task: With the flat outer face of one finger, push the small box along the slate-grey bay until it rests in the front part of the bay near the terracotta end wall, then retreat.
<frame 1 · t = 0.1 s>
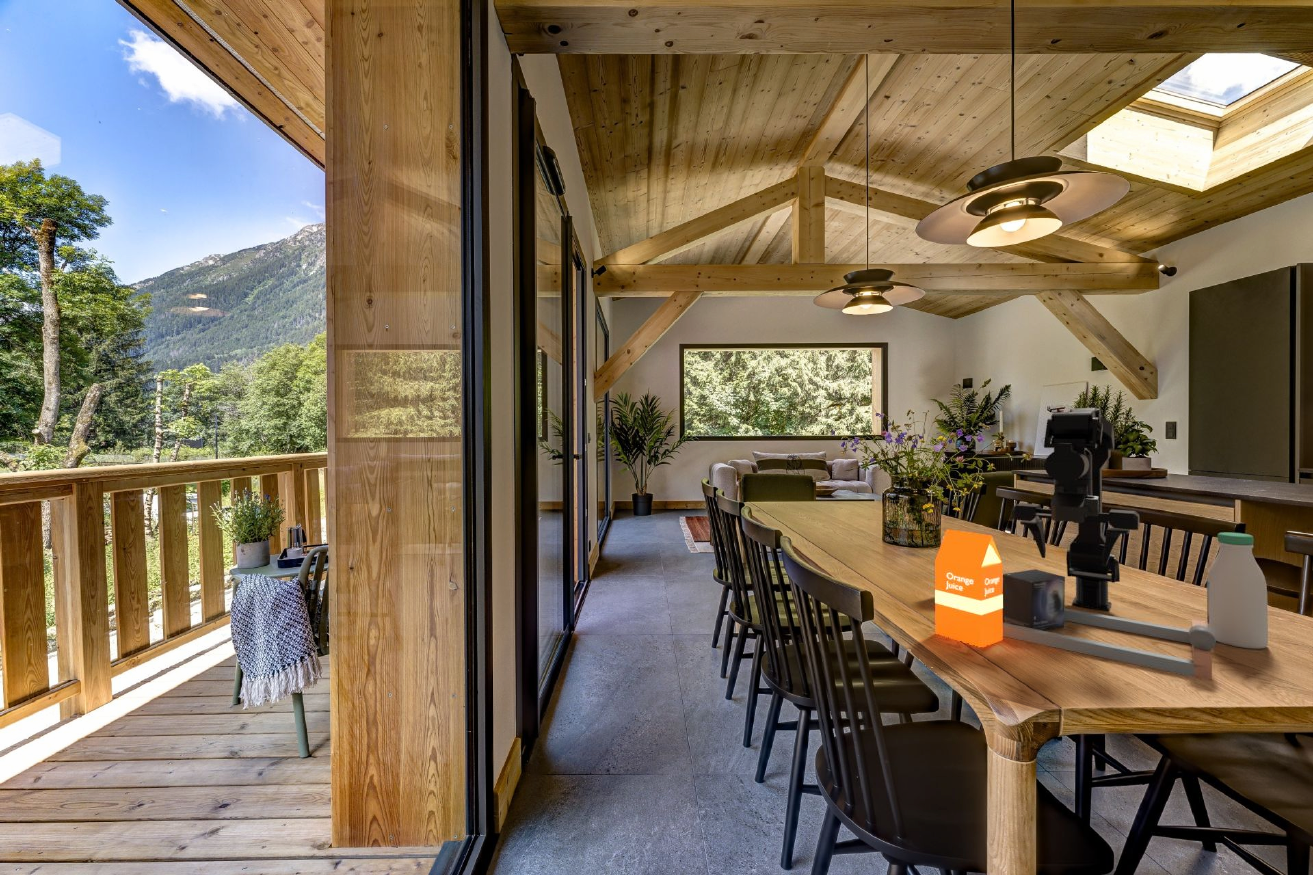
hand: (1073, 561, 104), 15 cm above the table, tool pointing down, fingers open, 9 cm apart
paper cup: (959, 596, 132), on the table
orange juice: (968, 637, 106), on the table
milk bottle: (1237, 642, 102), on the table
small box: (1033, 627, 111), on the table
bay: (1096, 638, 104), on the table
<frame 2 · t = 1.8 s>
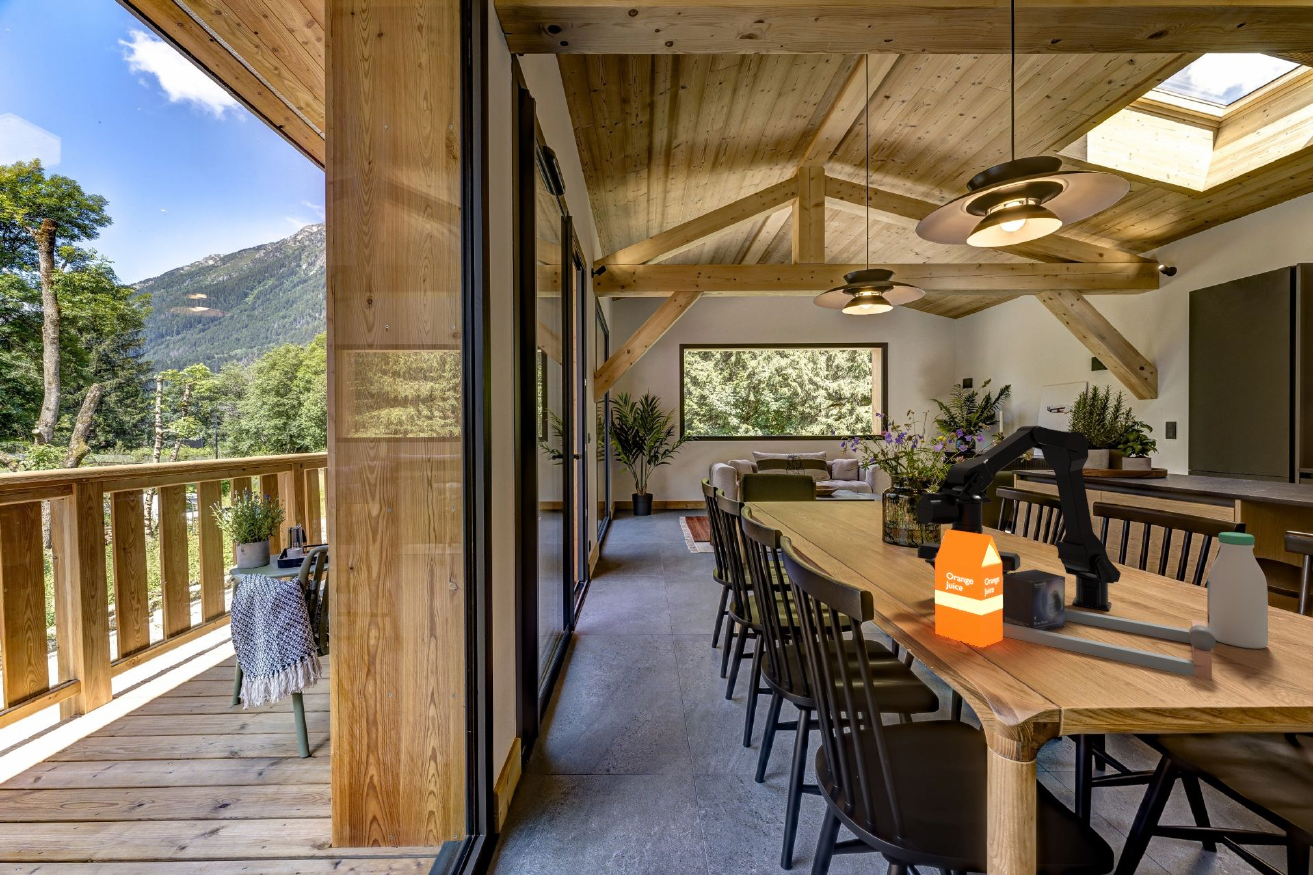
hand: (967, 595, 119), 4 cm above the table, tool pointing down, fingers open, 8 cm apart
small box: (1033, 627, 111), on the table, touching gripper
everything else where it was.
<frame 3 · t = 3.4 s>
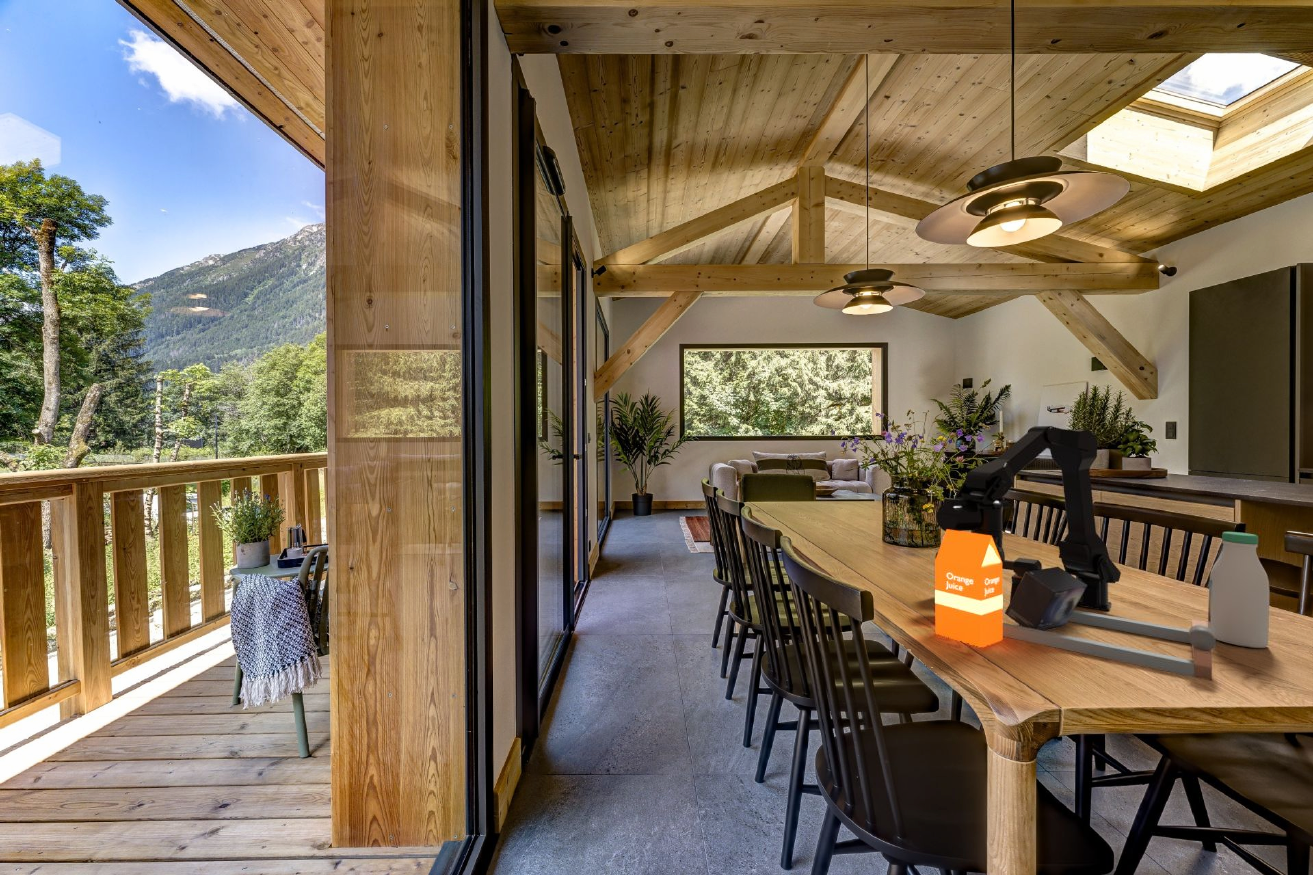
hand: (986, 602, 117), 3 cm above the table, tool pointing down, fingers open, 9 cm apart
small box: (1034, 621, 111), point 1 cm above the table, touching gripper
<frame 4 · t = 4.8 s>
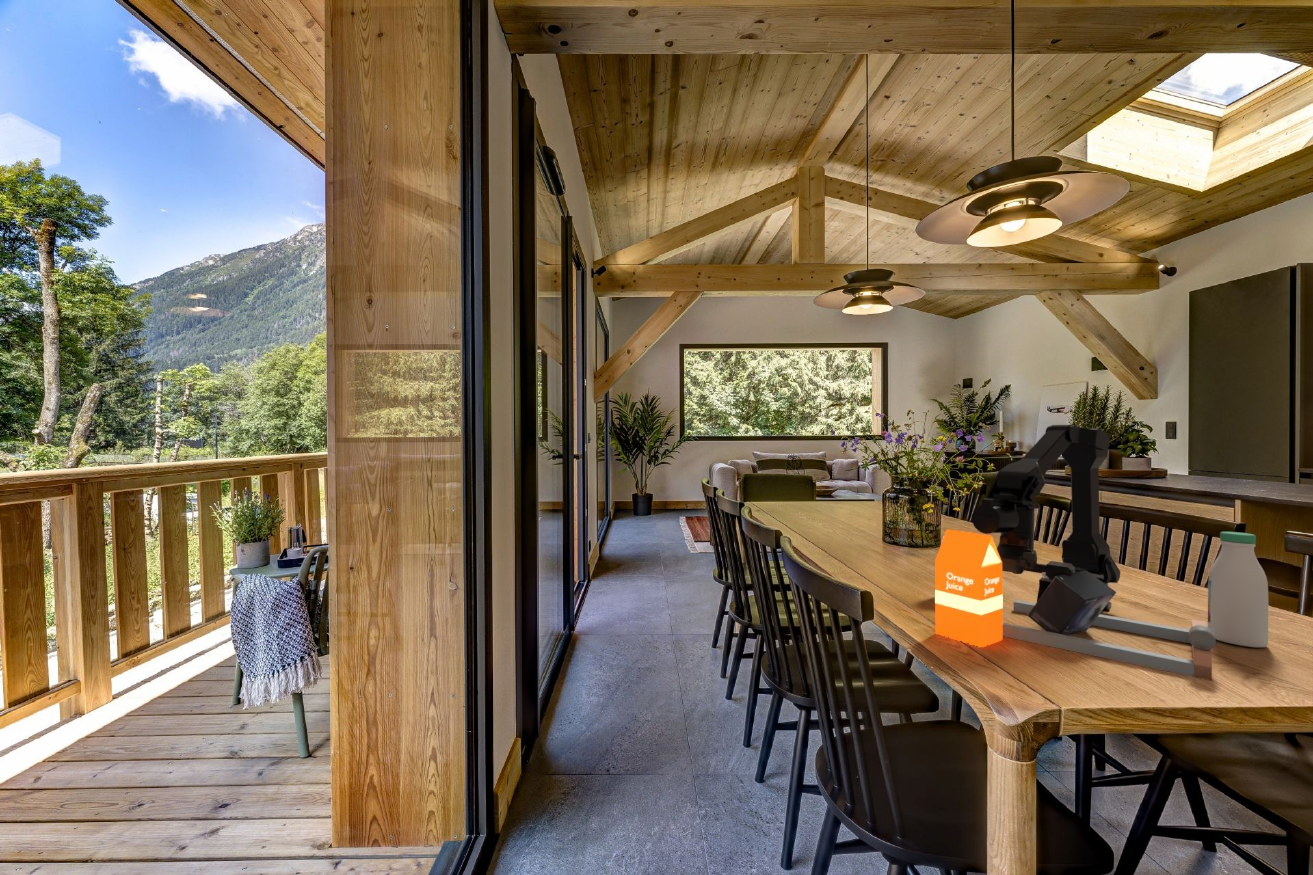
hand: (1015, 606, 113), 3 cm above the table, tool pointing down, fingers open, 7 cm apart
small box: (1056, 624, 108), point 1 cm above the table, touching gripper
everything else where it was.
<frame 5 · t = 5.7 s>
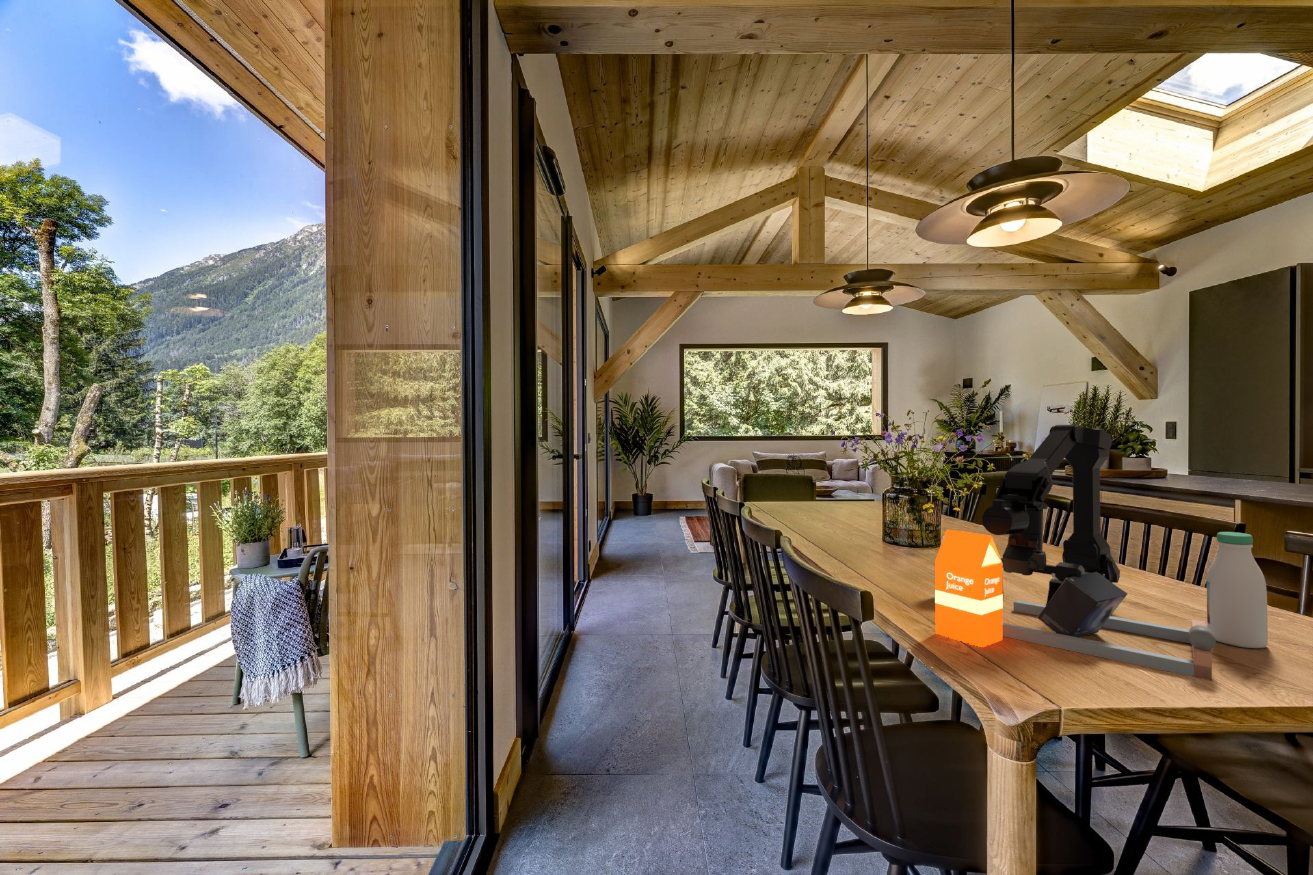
hand: (1024, 608, 112), 3 cm above the table, tool pointing down, fingers open, 8 cm apart
small box: (1066, 626, 107), point 1 cm above the table, touching gripper
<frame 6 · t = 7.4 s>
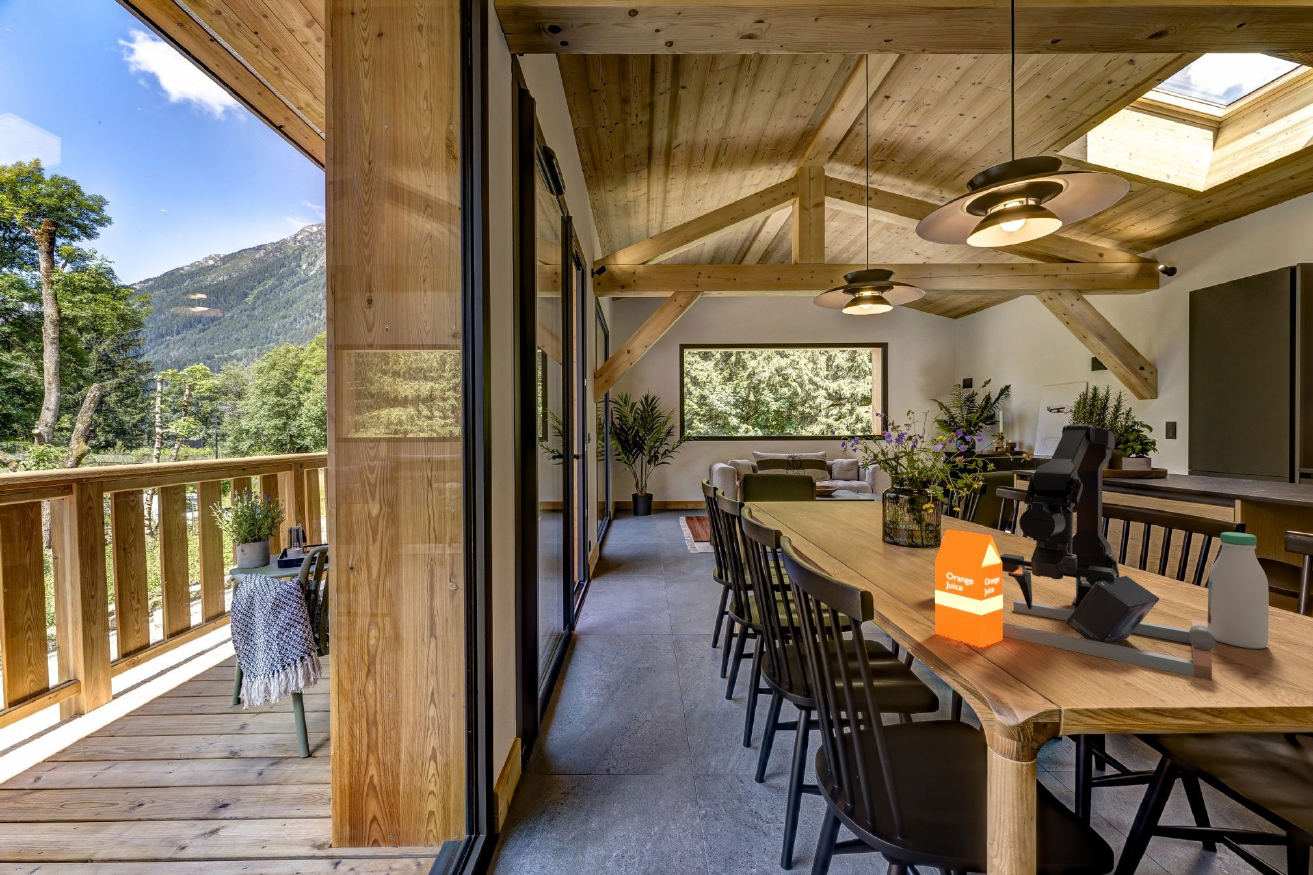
hand: (1052, 613, 109), 3 cm above the table, tool pointing down, fingers open, 7 cm apart
small box: (1095, 632, 104), point 1 cm above the table, touching gripper
everything else where it was.
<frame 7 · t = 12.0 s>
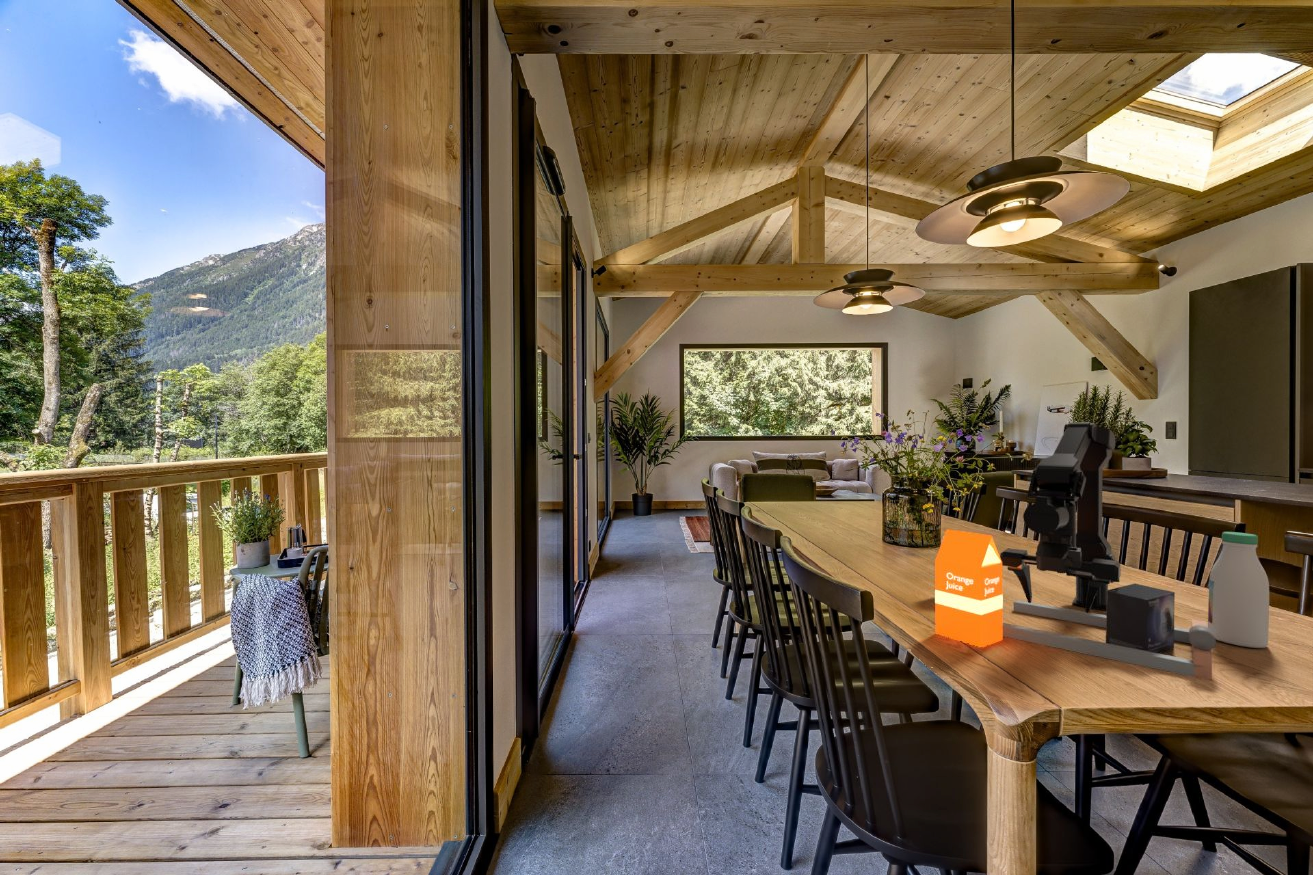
hand: (1057, 607, 108), 5 cm above the table, tool pointing down, fingers open, 9 cm apart
small box: (1140, 649, 100), on the table
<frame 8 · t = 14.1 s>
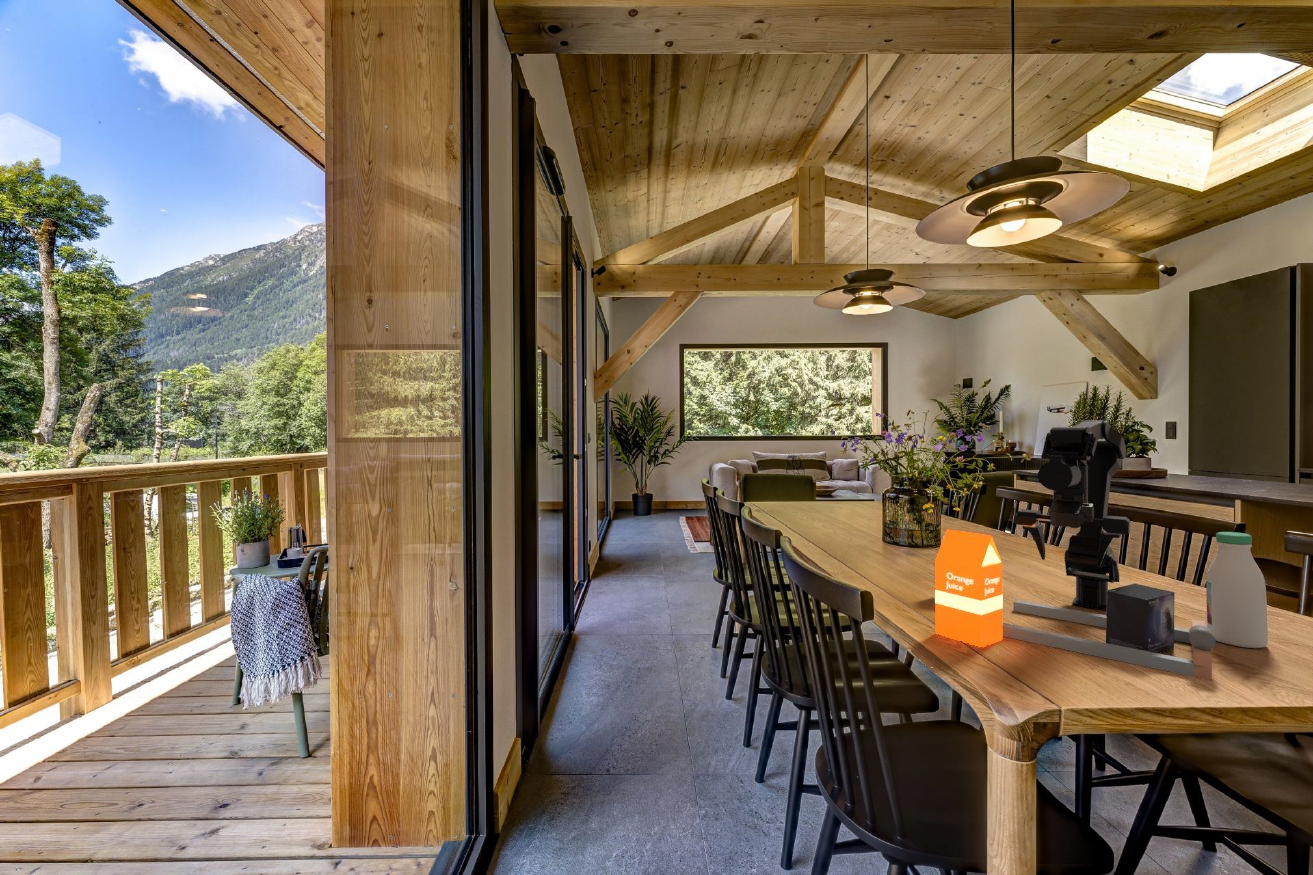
hand: (1070, 562, 114), 12 cm above the table, tool pointing down, fingers open, 9 cm apart
at the end: small box inside the target area (0.6 cm from its centre), on the table; small box tilted 0°; small box moved 16.2 cm from its start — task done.
